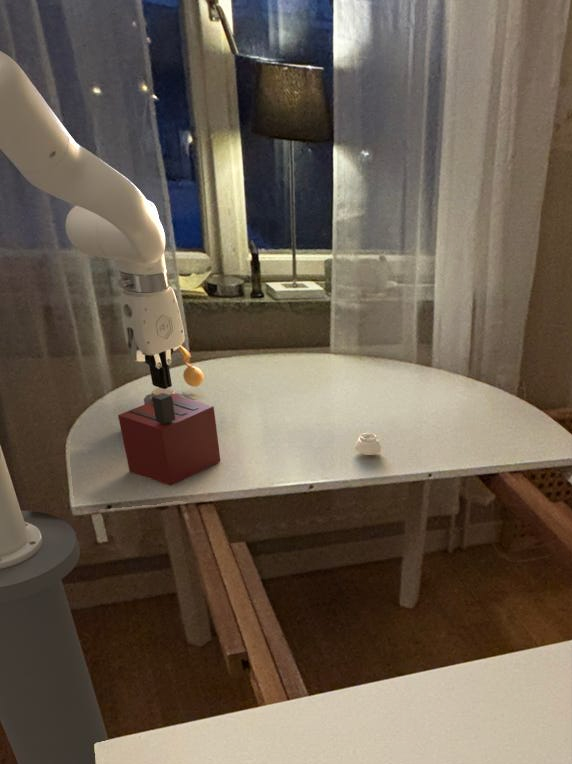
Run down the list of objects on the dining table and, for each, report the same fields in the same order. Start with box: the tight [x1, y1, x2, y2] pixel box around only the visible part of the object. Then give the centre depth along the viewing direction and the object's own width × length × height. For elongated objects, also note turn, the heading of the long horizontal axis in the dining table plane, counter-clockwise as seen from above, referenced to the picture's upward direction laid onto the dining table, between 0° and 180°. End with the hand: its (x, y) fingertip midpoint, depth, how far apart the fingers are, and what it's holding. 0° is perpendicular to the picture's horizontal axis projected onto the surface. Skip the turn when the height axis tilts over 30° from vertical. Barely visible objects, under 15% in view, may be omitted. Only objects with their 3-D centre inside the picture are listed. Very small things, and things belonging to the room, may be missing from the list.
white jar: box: [354, 432, 383, 456], centre depth 142 cm, size 5×3×5 cm
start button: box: [150, 387, 176, 397], centre depth 143 cm, size 4×4×2 cm
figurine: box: [177, 343, 205, 388], centre depth 156 cm, size 8×6×12 cm
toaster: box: [117, 394, 221, 487], centre depth 128 cm, size 12×9×10 cm
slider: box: [152, 393, 175, 424], centre depth 121 cm, size 2×2×4 cm
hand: (162, 386), depth 142 cm, fingers closed
